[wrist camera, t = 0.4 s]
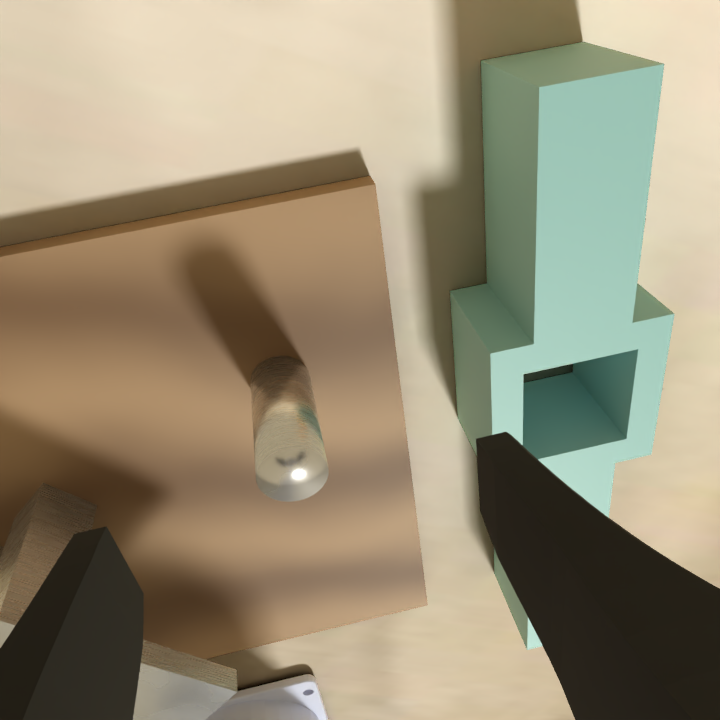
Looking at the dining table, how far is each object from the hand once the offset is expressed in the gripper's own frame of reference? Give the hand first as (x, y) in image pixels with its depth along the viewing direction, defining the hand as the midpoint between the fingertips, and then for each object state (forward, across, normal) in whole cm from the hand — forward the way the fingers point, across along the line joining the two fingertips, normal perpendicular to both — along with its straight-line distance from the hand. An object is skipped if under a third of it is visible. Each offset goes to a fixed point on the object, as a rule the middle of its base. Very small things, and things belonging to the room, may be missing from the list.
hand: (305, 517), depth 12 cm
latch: (+10, -8, +6) cm, 14 cm away
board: (+10, +5, +7) cm, 13 cm away
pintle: (+10, 0, +3) cm, 10 cm away
